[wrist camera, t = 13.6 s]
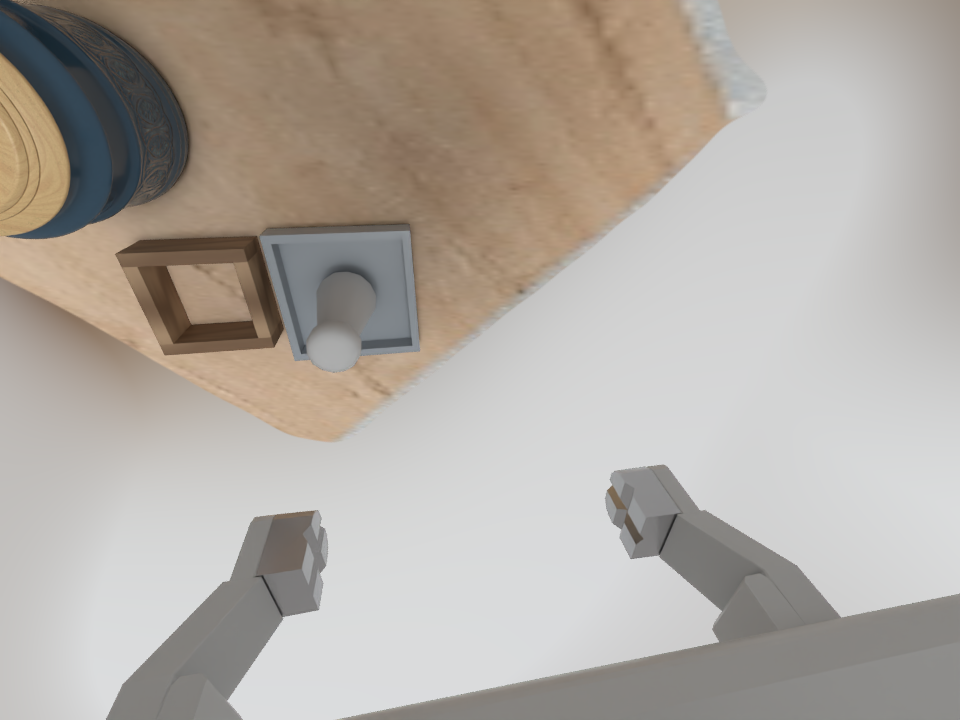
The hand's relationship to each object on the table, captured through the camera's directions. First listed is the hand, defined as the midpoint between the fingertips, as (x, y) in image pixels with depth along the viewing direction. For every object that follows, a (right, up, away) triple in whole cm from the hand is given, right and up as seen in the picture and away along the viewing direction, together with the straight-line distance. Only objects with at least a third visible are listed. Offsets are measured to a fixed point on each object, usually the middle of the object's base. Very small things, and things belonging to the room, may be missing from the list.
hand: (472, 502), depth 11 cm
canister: (-30, +24, +21) cm, 44 cm away
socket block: (-27, +11, +30) cm, 41 cm away
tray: (-14, +12, +32) cm, 37 cm away
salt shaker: (-14, +12, +32) cm, 36 cm away
